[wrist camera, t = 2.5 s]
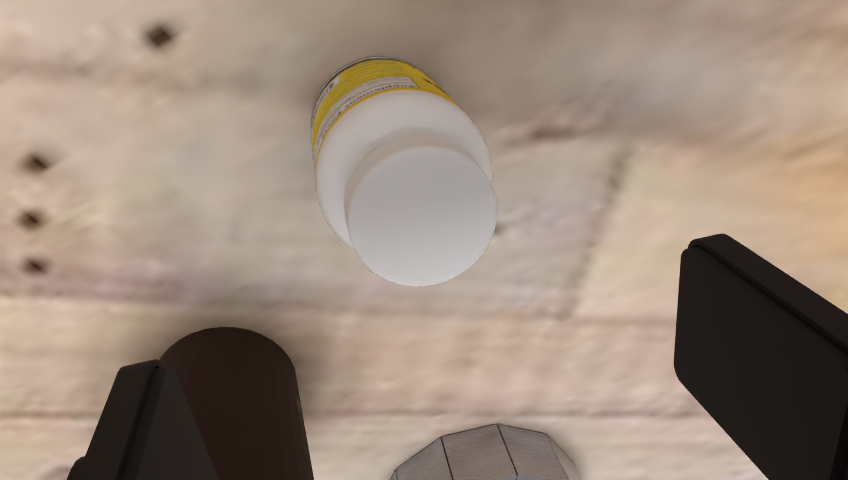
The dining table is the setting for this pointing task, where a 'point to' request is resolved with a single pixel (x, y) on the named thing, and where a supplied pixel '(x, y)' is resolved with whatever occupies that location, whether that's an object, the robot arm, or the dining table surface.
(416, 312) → the dining table surface
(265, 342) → the coffee mug
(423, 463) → the grey faceted ring
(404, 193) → the supplement bottle
